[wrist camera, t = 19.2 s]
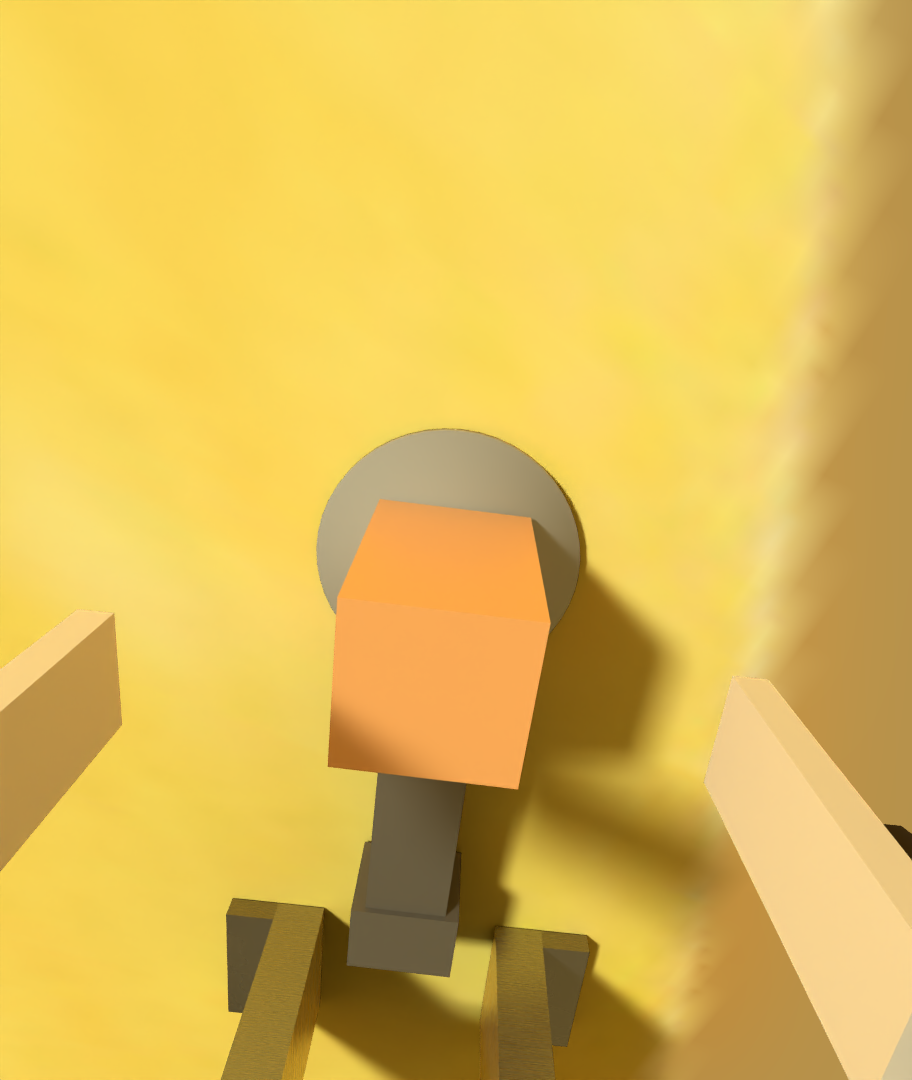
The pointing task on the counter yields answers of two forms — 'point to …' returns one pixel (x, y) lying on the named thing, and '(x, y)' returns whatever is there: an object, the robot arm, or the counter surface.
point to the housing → (295, 983)
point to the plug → (431, 707)
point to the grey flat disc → (452, 501)
